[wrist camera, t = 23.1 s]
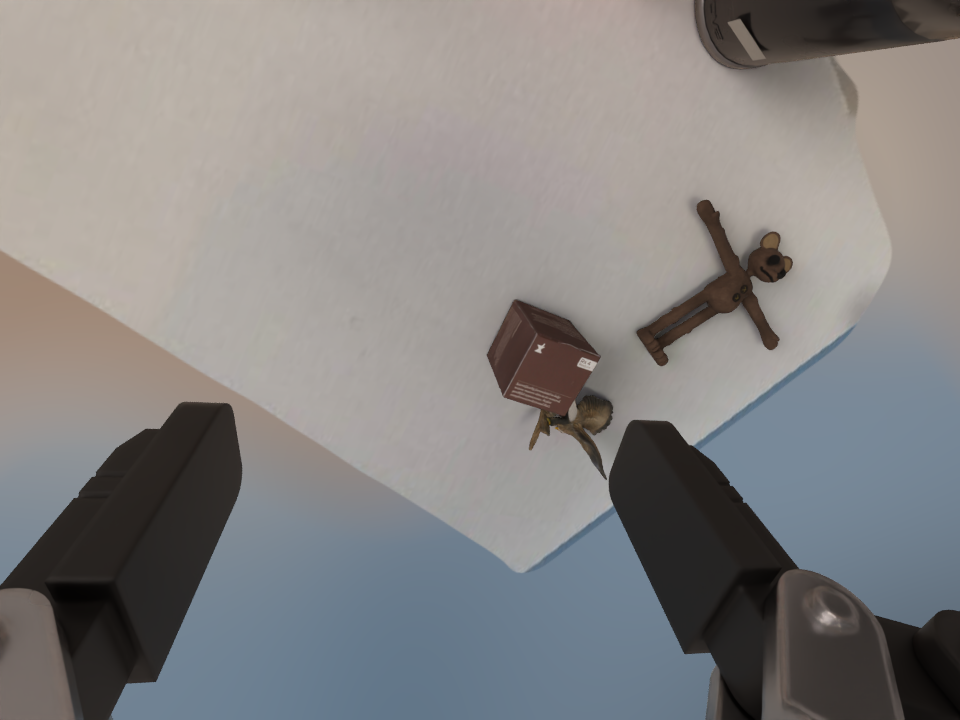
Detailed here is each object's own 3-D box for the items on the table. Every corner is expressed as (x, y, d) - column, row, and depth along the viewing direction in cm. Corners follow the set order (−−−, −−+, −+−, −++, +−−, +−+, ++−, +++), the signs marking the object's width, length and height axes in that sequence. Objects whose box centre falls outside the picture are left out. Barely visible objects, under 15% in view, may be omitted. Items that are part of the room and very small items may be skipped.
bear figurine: (605, 287, 37) (776, 167, 33) (590, 268, 41) (742, 158, 37) (693, 416, 45) (839, 332, 41) (674, 391, 49) (806, 312, 45)
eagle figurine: (514, 446, 46) (591, 478, 48) (539, 452, 39) (628, 489, 41) (540, 377, 48) (614, 410, 49) (569, 371, 41) (653, 409, 42)
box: (484, 354, 42) (500, 397, 35) (514, 296, 40) (536, 331, 33) (540, 374, 44) (565, 418, 37) (571, 320, 42) (603, 357, 35)
